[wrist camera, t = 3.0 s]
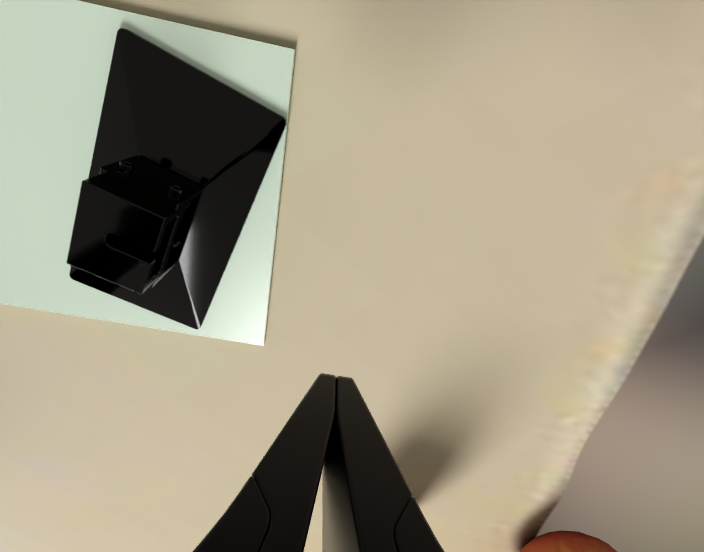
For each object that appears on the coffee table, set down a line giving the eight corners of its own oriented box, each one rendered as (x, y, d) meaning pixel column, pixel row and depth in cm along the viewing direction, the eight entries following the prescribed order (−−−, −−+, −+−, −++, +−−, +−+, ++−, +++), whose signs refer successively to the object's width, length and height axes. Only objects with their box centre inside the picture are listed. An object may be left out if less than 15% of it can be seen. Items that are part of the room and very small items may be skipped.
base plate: (-63, 289, 20) (-127, 321, 17) (-199, -62, 13) (-338, -99, 11) (264, 342, 22) (251, 378, 19) (295, 49, 15) (282, 42, 12)
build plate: (202, 326, 21) (164, 386, 17) (69, 271, 19) (-9, 323, 15) (289, 119, 16) (264, 133, 12) (115, 21, 14) (16, -2, 10)
